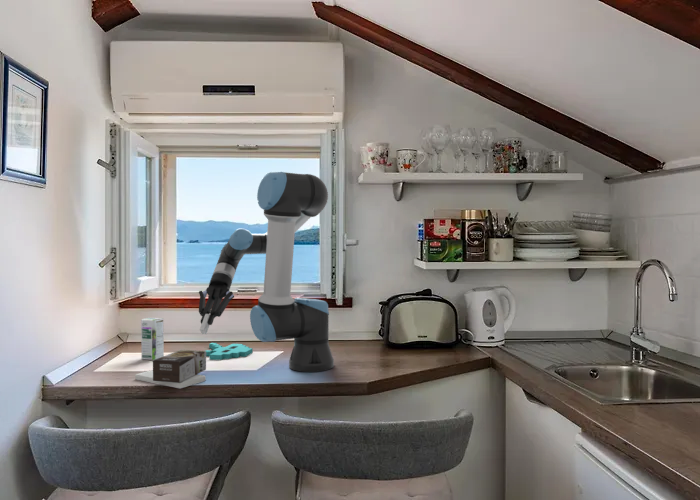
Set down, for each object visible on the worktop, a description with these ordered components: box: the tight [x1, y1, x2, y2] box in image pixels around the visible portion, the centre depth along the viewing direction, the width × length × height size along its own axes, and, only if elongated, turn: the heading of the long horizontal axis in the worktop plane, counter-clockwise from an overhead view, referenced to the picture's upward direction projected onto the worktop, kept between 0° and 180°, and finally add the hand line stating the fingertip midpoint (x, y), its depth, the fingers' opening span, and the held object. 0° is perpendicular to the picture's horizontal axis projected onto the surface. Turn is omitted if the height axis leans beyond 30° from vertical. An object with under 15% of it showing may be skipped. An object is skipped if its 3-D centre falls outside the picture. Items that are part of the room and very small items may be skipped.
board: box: [134, 369, 207, 389], centre depth 167 cm, size 20×10×2 cm, turn 59°
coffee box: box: [152, 349, 207, 383], centre depth 166 cm, size 9×6×16 cm
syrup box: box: [140, 317, 165, 361], centre depth 196 cm, size 6×6×14 cm
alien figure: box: [205, 342, 254, 361], centre depth 204 cm, size 20×2×20 cm
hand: (203, 331), depth 182 cm, fingers closed
